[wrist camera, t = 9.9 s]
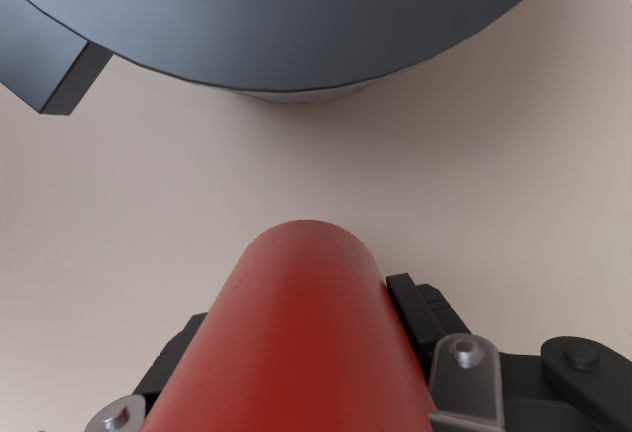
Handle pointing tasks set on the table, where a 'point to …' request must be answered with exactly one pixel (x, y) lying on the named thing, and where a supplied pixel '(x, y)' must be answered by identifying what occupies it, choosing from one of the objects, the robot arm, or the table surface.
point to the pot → (70, 63)
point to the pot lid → (275, 38)
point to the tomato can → (298, 346)
